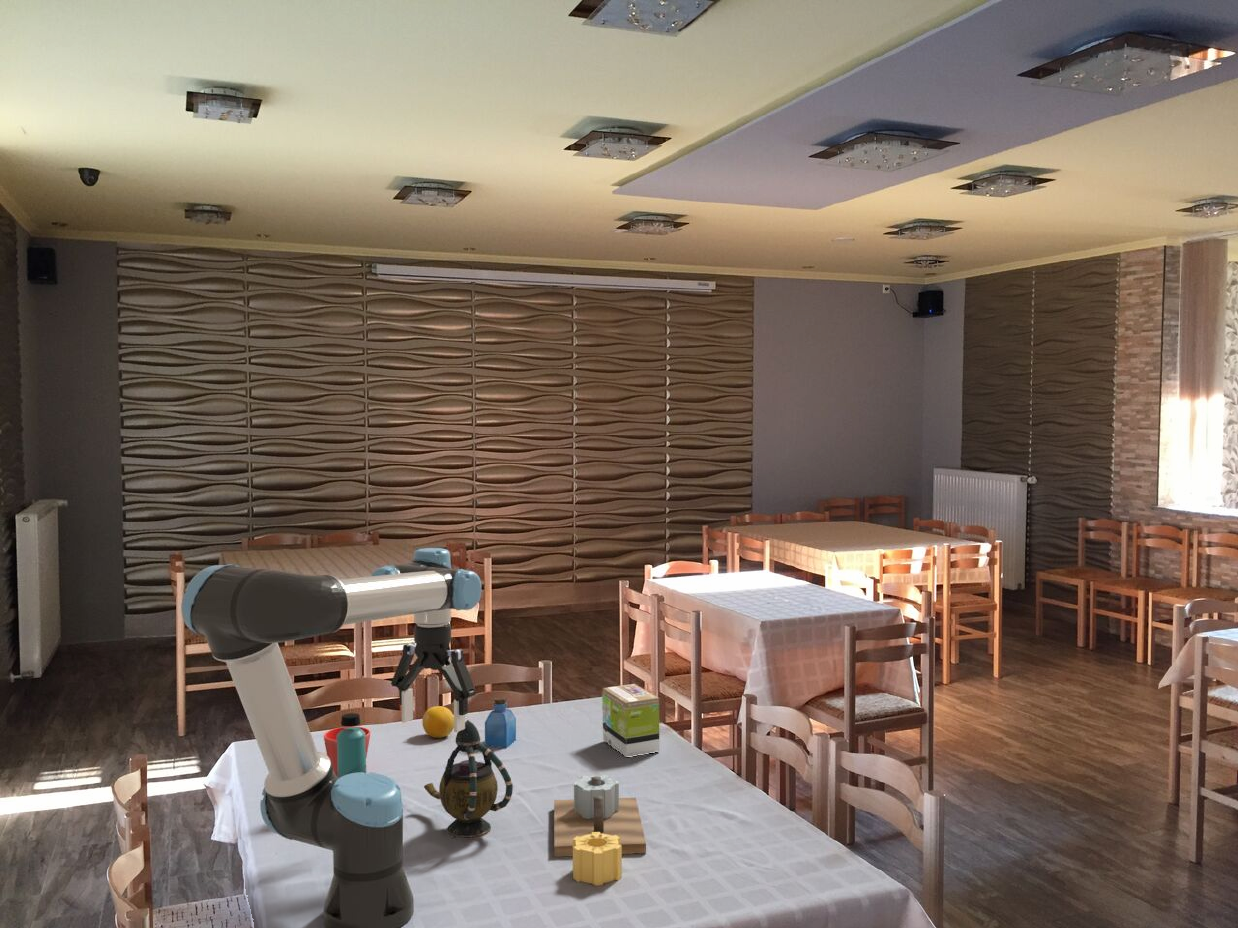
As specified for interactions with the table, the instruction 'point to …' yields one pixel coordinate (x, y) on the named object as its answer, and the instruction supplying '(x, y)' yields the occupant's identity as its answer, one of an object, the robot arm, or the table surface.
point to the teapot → (470, 786)
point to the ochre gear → (597, 858)
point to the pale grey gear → (587, 792)
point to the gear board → (586, 826)
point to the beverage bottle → (351, 746)
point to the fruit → (438, 721)
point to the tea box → (630, 719)
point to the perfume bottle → (500, 725)
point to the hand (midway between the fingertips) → (433, 725)
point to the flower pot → (331, 744)
